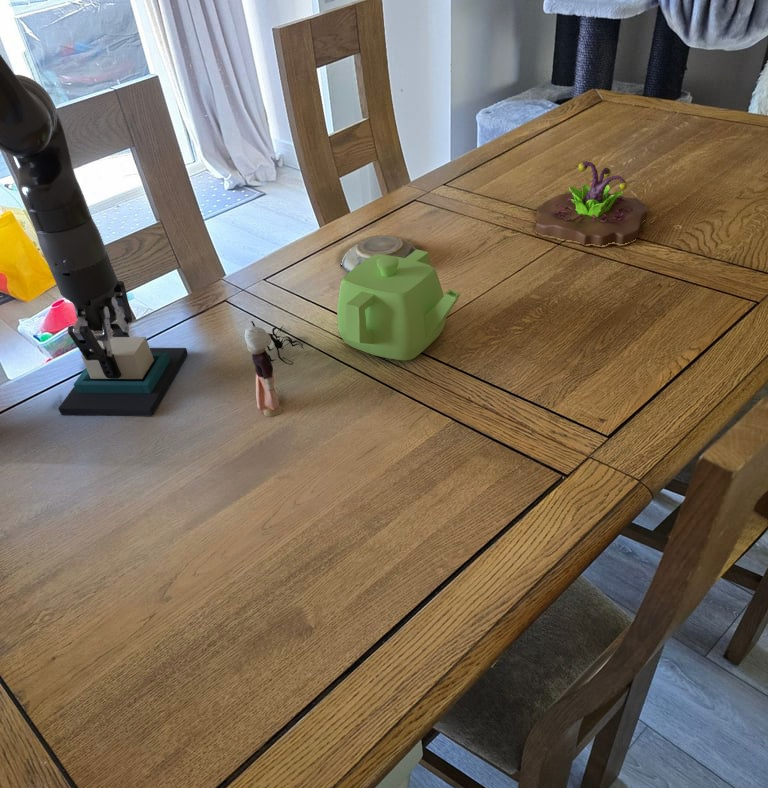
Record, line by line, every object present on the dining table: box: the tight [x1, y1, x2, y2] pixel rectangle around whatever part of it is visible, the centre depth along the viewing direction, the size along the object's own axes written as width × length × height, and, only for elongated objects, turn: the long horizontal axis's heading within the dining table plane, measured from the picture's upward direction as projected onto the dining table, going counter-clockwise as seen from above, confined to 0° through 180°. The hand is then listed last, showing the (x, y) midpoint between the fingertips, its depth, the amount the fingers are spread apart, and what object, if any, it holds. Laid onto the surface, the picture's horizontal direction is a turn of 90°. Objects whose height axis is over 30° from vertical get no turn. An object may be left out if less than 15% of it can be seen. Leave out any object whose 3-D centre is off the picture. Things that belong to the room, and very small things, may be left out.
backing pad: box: [57, 347, 189, 417], centre depth 104 cm, size 14×16×3 cm
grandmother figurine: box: [244, 325, 284, 418], centre depth 93 cm, size 8×4×13 cm, turn 27°
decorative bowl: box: [340, 234, 417, 273], centre depth 125 cm, size 15×4×15 cm
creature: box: [250, 320, 304, 366], centre depth 106 cm, size 8×5×8 cm
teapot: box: [336, 249, 461, 361], centre depth 102 cm, size 18×20×13 cm
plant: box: [534, 160, 649, 246], centre depth 128 cm, size 20×20×11 cm
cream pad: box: [80, 336, 154, 379], centre depth 102 cm, size 8×5×4 cm, turn 83°
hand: (121, 366), depth 103 cm, fingers closed on cream pad, 5 cm apart
